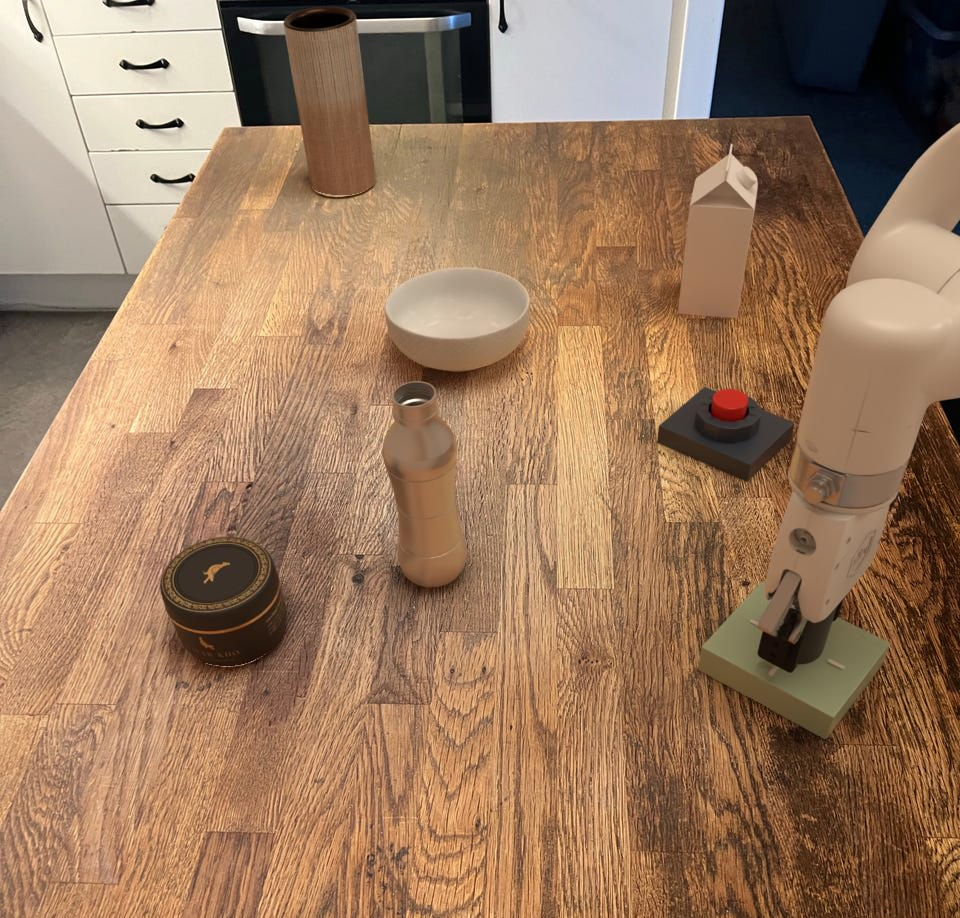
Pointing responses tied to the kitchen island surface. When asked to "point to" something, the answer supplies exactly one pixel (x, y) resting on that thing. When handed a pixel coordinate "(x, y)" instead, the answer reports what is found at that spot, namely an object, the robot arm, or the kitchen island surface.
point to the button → (729, 405)
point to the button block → (725, 436)
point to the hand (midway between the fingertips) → (797, 636)
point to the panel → (810, 687)
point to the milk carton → (718, 239)
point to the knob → (812, 636)
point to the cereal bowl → (458, 317)
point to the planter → (331, 99)
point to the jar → (225, 600)
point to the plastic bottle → (424, 487)
